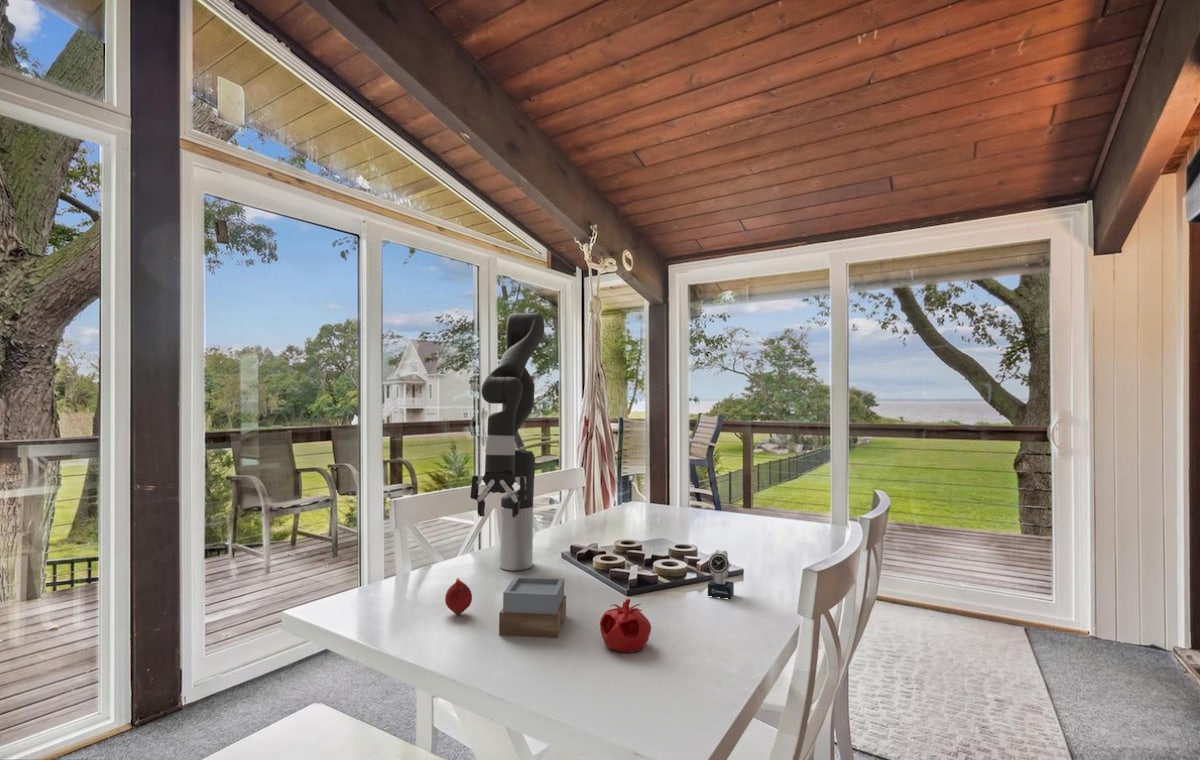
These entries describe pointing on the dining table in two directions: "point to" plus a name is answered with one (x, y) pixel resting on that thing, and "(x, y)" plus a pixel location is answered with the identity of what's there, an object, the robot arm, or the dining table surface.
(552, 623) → the bottom block
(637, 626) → the pomegranate
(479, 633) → the dining table surface
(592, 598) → the dining table surface
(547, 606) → the top block
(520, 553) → the robot arm
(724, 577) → the watch
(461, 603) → the onion
